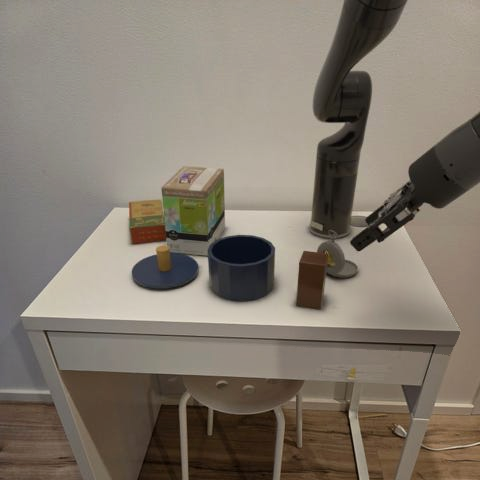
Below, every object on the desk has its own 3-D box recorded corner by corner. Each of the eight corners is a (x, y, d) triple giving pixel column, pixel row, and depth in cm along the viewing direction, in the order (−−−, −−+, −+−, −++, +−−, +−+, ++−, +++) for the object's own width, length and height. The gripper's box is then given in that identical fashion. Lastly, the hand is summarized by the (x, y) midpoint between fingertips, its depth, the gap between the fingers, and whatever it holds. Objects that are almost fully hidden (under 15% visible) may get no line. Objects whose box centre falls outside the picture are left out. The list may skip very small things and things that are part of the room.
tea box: (210, 257, 94) (206, 189, 85) (166, 253, 96) (158, 187, 87) (226, 228, 106) (224, 166, 97) (187, 225, 108) (181, 164, 99)
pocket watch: (359, 265, 90) (366, 220, 84) (353, 286, 84) (361, 238, 78) (319, 260, 92) (324, 215, 86) (311, 279, 86) (316, 232, 80)
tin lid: (144, 256, 95) (140, 232, 92) (204, 259, 93) (203, 235, 90) (122, 288, 84) (117, 262, 81) (190, 293, 83) (187, 267, 79)
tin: (216, 266, 91) (214, 233, 86) (276, 269, 89) (277, 236, 85) (204, 299, 81) (201, 263, 77) (270, 303, 79) (271, 267, 75)
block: (300, 293, 82) (303, 250, 77) (323, 296, 81) (328, 253, 76) (295, 306, 79) (299, 262, 73) (320, 309, 78) (325, 265, 72)
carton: (163, 214, 114) (161, 198, 111) (168, 241, 101) (166, 223, 98) (130, 217, 112) (128, 201, 110) (131, 244, 100) (128, 227, 97)
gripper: (444, 130, 62) (358, 201, 73) (428, 158, 52) (331, 235, 63) (477, 170, 63) (387, 234, 74) (467, 205, 53) (365, 273, 64)
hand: (361, 234), depth 69 cm, fingers open, 8 cm apart
